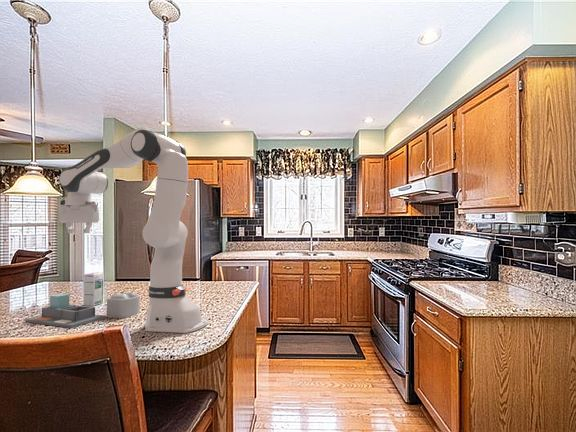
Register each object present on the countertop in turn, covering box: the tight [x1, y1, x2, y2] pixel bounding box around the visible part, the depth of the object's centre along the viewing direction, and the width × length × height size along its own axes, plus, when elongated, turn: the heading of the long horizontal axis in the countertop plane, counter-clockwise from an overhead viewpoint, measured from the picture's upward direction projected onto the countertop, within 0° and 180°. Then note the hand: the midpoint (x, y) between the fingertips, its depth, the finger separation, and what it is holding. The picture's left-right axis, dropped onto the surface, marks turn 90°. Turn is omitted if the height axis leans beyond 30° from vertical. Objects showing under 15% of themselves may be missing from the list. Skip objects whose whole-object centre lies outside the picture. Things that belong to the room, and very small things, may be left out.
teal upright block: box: [49, 293, 70, 309], centre depth 134 cm, size 4×4×8 cm
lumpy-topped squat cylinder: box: [106, 291, 141, 319], centre depth 141 cm, size 10×13×9 cm
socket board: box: [24, 304, 106, 329], centre depth 131 cm, size 24×14×4 cm, turn 70°
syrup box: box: [83, 271, 104, 307], centre depth 159 cm, size 6×6×14 cm
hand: (78, 233), depth 150 cm, fingers open, 8 cm apart
